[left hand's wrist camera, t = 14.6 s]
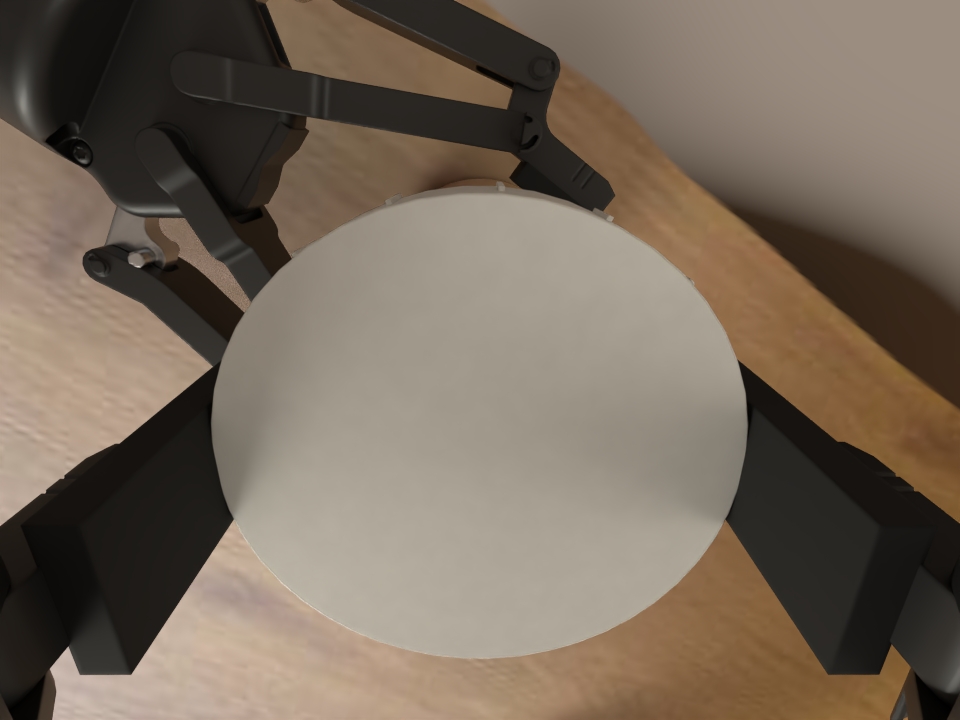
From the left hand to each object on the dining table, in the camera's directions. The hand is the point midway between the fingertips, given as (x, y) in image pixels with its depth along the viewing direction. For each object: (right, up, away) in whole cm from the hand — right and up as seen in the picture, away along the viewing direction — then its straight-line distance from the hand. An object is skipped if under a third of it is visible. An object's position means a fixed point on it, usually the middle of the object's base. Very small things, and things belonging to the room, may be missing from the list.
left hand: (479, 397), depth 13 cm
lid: (0, -1, -3) cm, 3 cm away
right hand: (+4, 0, +8) cm, 9 cm away
